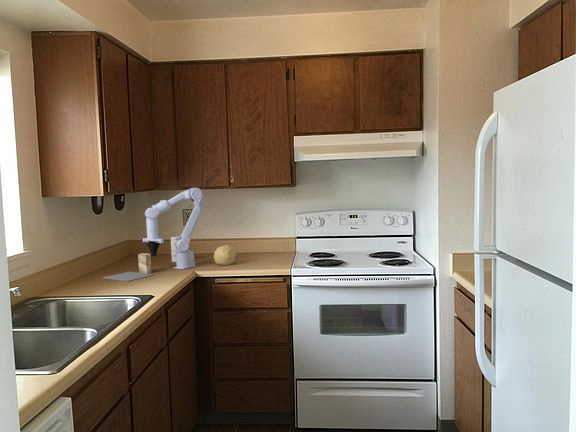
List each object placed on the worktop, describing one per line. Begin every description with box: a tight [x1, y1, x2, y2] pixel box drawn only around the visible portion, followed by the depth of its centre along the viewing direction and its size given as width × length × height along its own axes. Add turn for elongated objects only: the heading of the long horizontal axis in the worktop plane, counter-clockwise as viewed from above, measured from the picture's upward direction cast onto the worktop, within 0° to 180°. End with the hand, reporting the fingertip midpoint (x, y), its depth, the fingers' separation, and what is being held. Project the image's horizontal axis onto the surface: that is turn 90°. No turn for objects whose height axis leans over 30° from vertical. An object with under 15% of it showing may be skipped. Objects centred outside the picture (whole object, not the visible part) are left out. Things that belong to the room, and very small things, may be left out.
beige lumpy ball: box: [213, 244, 237, 266], centre depth 275 cm, size 12×12×11 cm
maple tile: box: [137, 252, 152, 274], centre depth 259 cm, size 3×6×10 cm, turn 54°
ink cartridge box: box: [170, 235, 180, 263], centre depth 294 cm, size 9×5×15 cm, turn 101°
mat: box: [102, 271, 155, 282], centre depth 251 cm, size 16×20×1 cm
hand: (154, 256), depth 264 cm, fingers closed
